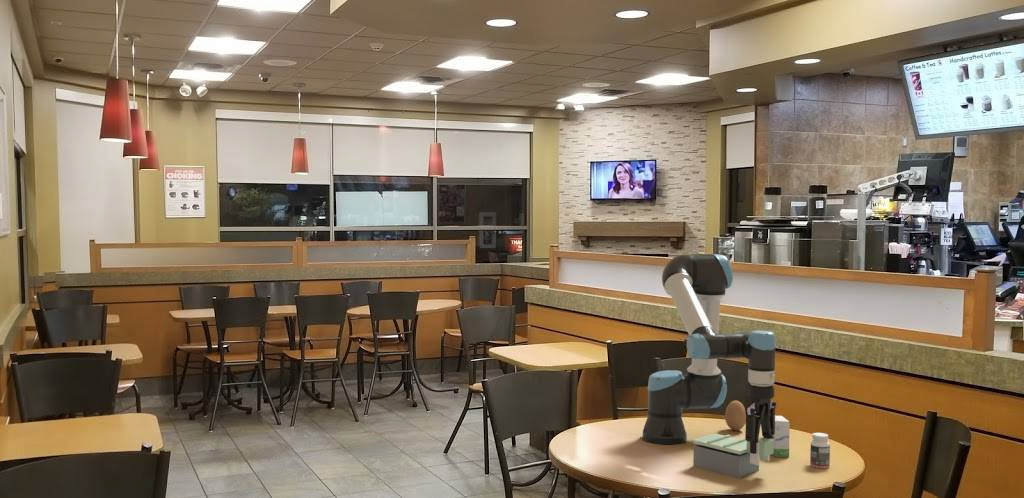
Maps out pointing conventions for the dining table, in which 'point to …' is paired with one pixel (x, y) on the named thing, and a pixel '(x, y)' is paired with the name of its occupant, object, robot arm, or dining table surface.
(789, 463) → the dining table surface
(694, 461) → the tub
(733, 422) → the egg
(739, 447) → the lid
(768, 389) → the robot arm
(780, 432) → the ink box
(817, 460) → the pill bottle
